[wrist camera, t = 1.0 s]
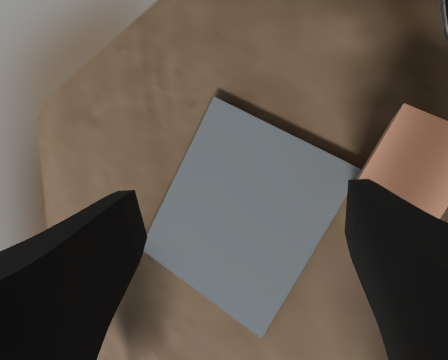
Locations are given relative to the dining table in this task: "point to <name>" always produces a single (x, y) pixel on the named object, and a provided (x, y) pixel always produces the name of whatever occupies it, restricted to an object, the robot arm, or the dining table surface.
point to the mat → (246, 213)
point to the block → (413, 160)
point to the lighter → (444, 18)
